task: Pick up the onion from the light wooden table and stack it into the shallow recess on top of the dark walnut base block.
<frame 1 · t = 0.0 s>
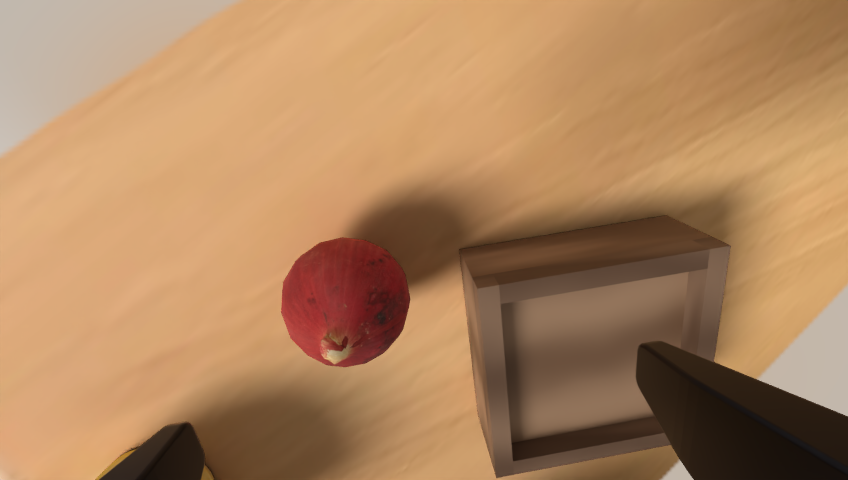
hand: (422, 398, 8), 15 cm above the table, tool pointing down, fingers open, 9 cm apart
walnut base: (565, 322, 26), on the table
onion: (352, 265, 23), on the table
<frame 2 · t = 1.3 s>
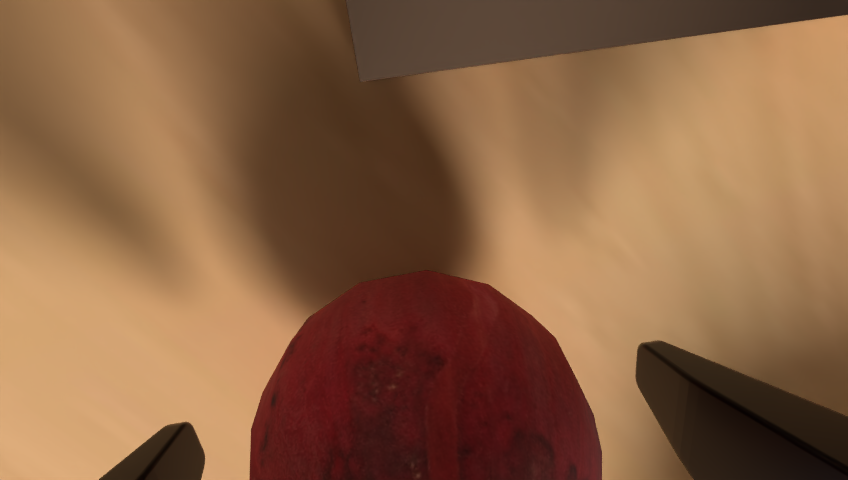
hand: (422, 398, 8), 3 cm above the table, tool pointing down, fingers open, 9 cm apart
onion: (409, 320, 11), on the table
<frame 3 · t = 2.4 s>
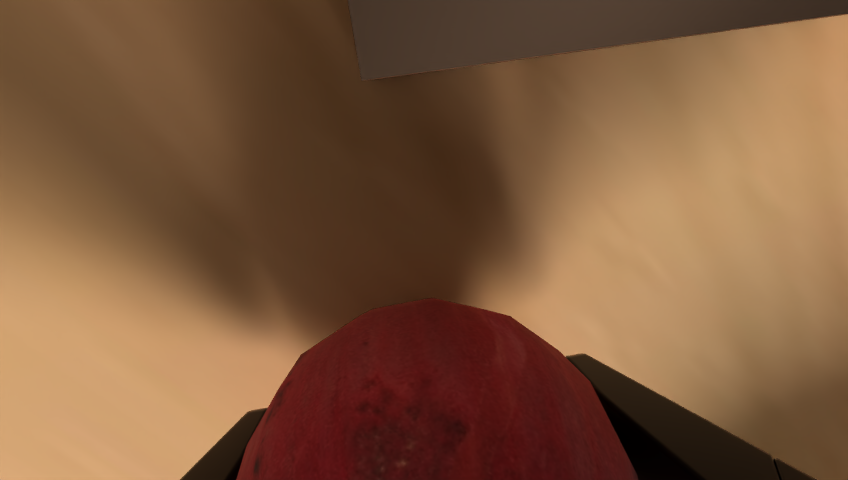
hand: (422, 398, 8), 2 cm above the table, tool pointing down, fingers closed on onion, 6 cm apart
onion: (414, 345, 10), on the table, touching gripper
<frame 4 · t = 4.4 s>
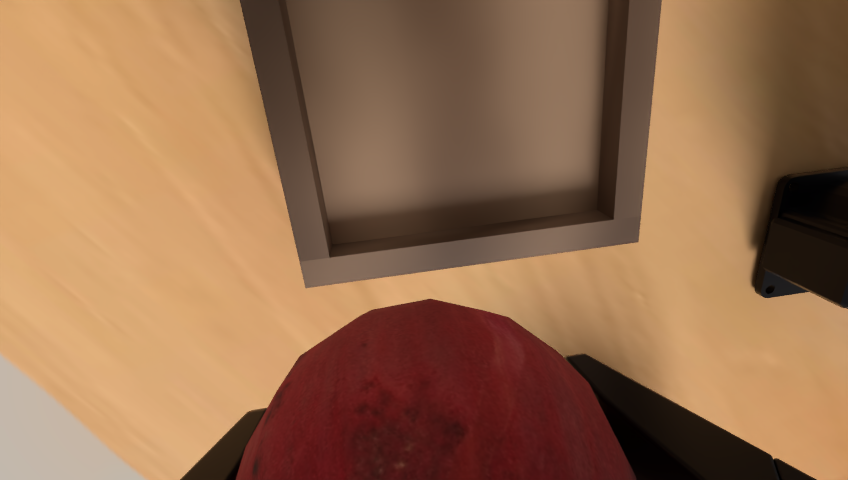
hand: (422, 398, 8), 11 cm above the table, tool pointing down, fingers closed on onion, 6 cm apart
walnut base: (442, 83, 17), on the table
onion: (414, 345, 10), point 9 cm above the table, touching gripper
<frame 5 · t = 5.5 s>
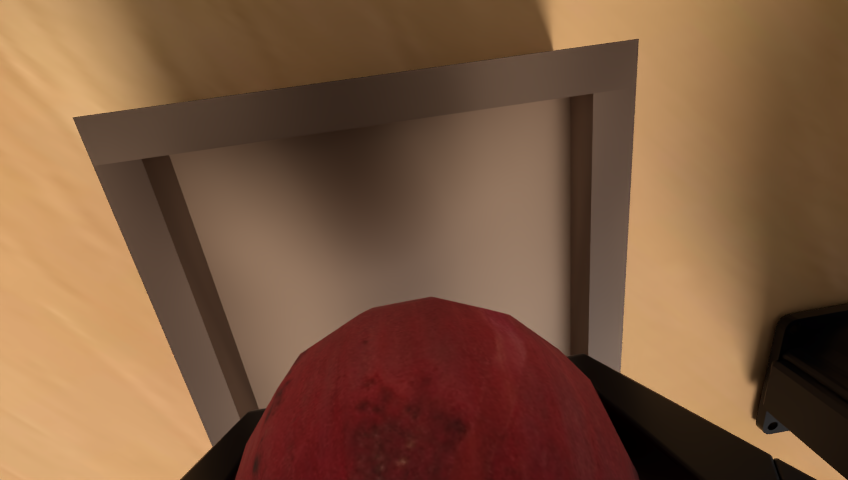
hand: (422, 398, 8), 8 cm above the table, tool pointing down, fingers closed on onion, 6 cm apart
walnut base: (397, 251, 15), on the table
onion: (414, 344, 10), point 6 cm above the table, touching gripper
when the fingers open (6 cm above the table, at t = 6.6 s): onion drops 1 cm, resting on walnut base.
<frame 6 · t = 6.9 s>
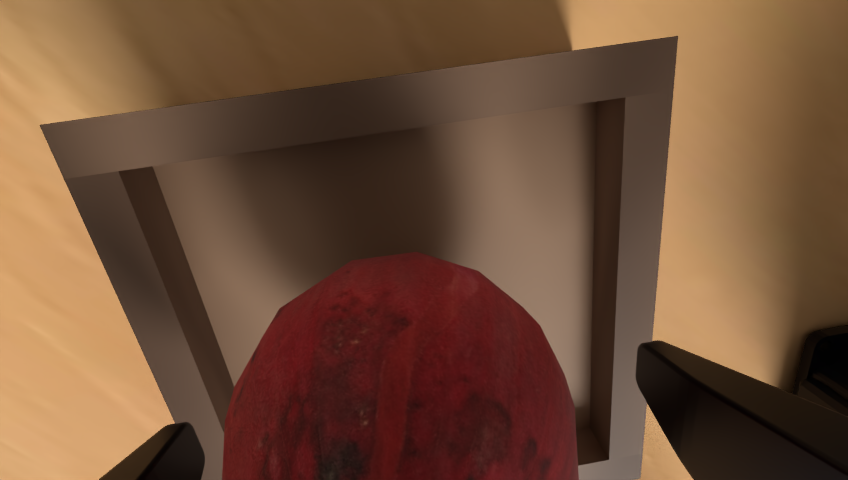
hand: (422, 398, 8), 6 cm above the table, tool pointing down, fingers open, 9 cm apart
walnut base: (403, 264, 14), on the table
onion: (413, 318, 11), point 3 cm above the table, touching walnut base
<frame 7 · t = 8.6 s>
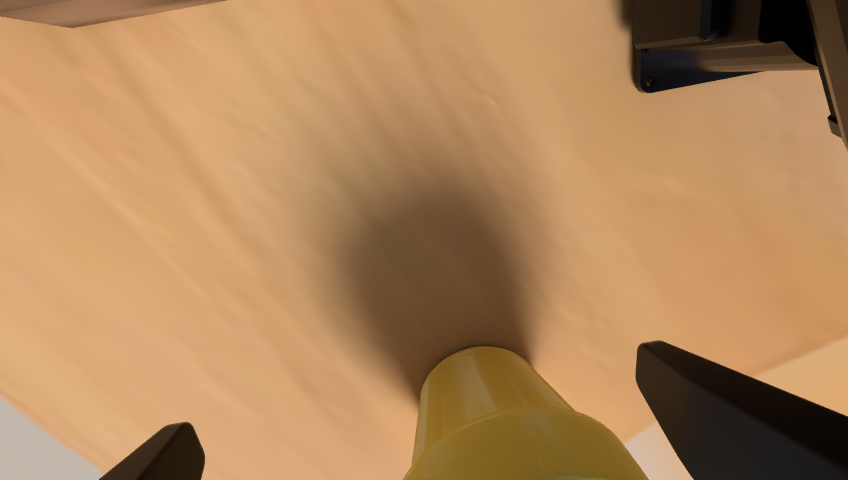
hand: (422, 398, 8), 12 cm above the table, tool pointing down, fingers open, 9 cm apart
plant pot: (479, 391, 24), on the table
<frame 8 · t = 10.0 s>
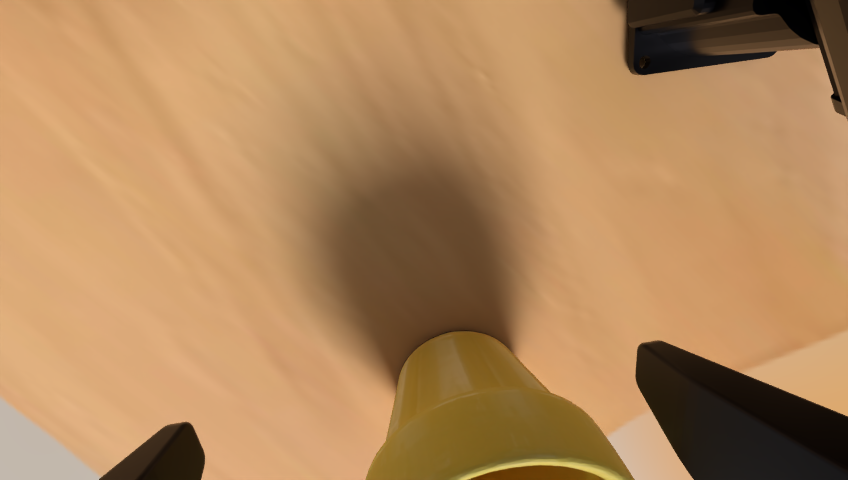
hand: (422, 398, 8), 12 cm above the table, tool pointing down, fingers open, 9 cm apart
plant pot: (459, 378, 24), on the table
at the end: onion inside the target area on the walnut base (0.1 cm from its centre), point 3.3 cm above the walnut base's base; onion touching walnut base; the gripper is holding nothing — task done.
